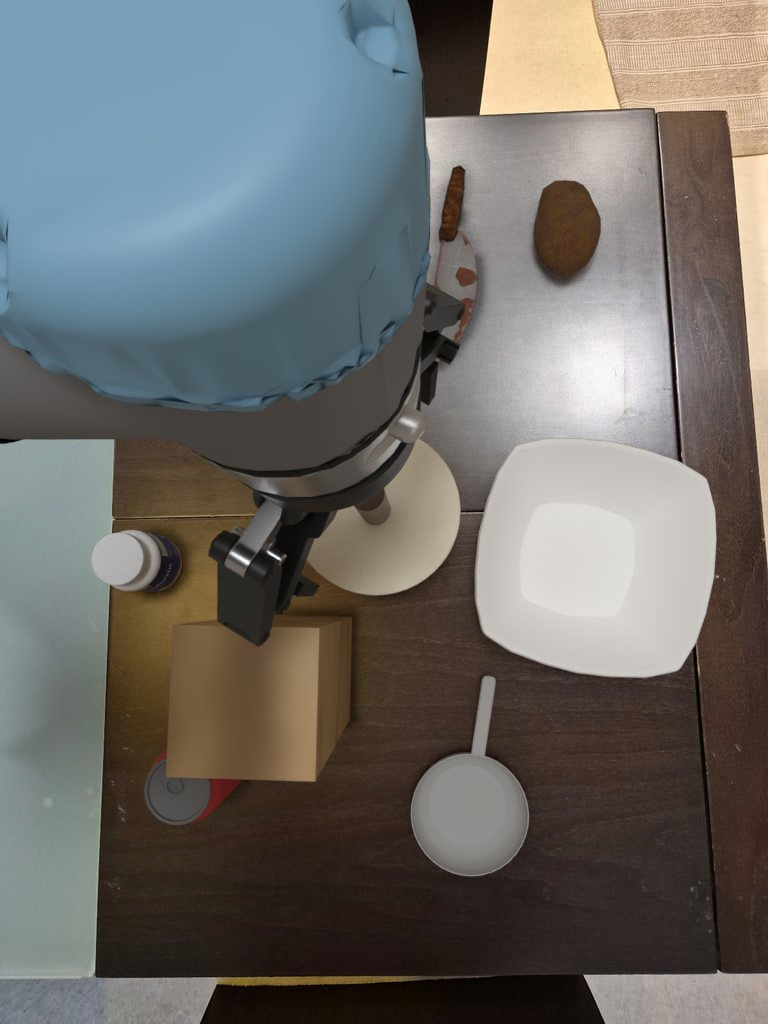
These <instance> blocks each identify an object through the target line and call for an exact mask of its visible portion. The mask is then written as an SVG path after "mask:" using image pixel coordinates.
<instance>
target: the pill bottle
mask: <svg viewBox="0 0 768 1024" xmlns="http://www.w3.org/2000/svg"><path fill="white" fill-rule="evenodd" d="M90 560H91V563H90V564H91V567H92V570H93V572H94V574H95V576H96V577H97V578H98V579H99V580H100V581H101V582H103V583H105V584H107V585H110V587H112V588H114V589H116V590H119V591H123V592H138V593H139V592H141V593H143V592H144V593H146V592H147V593H153V592H155V593H156V592H160V591H164V590H167V589H168V588H170V587H171V586H172V585H173V584H175V582H176V581H177V580H178V578H179V576H180V574H181V571H182V568H183V558H182V554H181V551H180V548H178V546H177V545H176V544H175V542H173V541H172V540H171V539H170V538H168V537H165V536H164V535H159V534H156V533H152V532H147V531H142V530H138V529H126V530H121V531H119V532H112V533H110V534H108V535H105V536H104V537H102V538H101V539H99V541H98V542H97V543H96V544H95V546H94V548H93V550H92V553H91V559H90Z"/></svg>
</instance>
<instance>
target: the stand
mask: <svg viewBox="0 0 768 1024" xmlns="http://www.w3.org/2000/svg"><path fill="white" fill-rule="evenodd" d="M352 638H353V616H339V615H338V616H337V615H336V616H335V615H334V616H333V615H284V614H283V615H282V614H281V615H279V614H274V618H273V624H272V628H271V631H270V637H269V638H268V640H267V641H266V642H264V644H263V645H261V646H260V647H257V646H256V645H254V644H253V643H251V642H249V641H248V640H246V639H244V638H243V637H241V636H240V635H238V634H236V633H235V632H233V631H232V630H230V629H228V628H227V627H225V626H224V625H222V624H221V623H219V622H218V621H217V618H216V619H208V620H200V621H193V622H184V623H177V624H173V625H172V638H171V639H172V640H171V657H170V658H171V659H170V660H171V661H170V679H169V681H170V682H169V684H170V685H169V701H168V718H167V719H168V720H167V721H168V722H167V741H166V750H167V760H166V777H176V778H208V779H241V781H242V780H243V781H245V780H246V781H272V782H273V781H276V782H278V781H279V782H305V783H306V782H311V783H315V782H316V781H317V779H318V778H319V776H320V774H321V772H322V770H323V769H324V767H325V765H326V763H327V762H328V760H329V758H330V756H331V755H332V752H333V751H334V749H335V747H336V745H337V743H338V742H339V740H340V738H341V737H342V734H343V732H344V731H345V730H346V727H347V725H348V724H349V722H350V720H351V687H352V686H351V685H352V682H351V681H352V644H353V643H352V641H353V639H352Z"/></svg>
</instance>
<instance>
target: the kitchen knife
mask: <svg viewBox="0 0 768 1024" xmlns="http://www.w3.org/2000/svg"><path fill="white" fill-rule="evenodd" d="M465 179H466V169H465V168H464V167H463V165H457V166H453V167H452V170H451V174H450V178H449V181H448V184H447V187H446V192H445V197H444V201H443V206H442V211H441V216H440V217H441V222H440V226H439V229H438V238H439V239H438V240H439V241H440V247H439V253H438V259H437V260H438V261H437V266H436V271H435V272H436V273H435V278H434V285H433V286H434V287H436V288H438V289H440V290H442V291H443V292H445V293H447V294H449V295H451V296H452V297H454V298H456V299H458V300H460V301H461V302H463V303H465V304H466V306H465V308H466V309H465V314H464V316H463V317H462V319H461V320H459V321H458V322H457V323H456V324H455V325H454V326H450V327H446V328H444V329H443V330H442V333H441V334H442V335H444V336H445V337H447V338H449V339H451V340H453V341H454V342H456V343H458V342H459V341H460V340H461V339H462V338H463V336H464V334H465V332H466V329H467V328H468V325H469V324H470V322H471V319H472V316H473V312H474V308H475V304H476V300H477V290H478V279H479V278H478V277H479V276H478V270H477V269H478V268H477V260H476V259H477V258H476V256H475V253H474V250H473V247H472V244H471V242H470V240H469V239H468V238H467V236H466V235H465V234H464V233H463V231H462V230H460V229H458V224H459V221H460V218H461V214H462V206H463V200H464V194H465V193H464V192H465ZM435 361H437V362H438V363H439V364H440V362H441V361H442V360H440V359H438V358H437V359H436V360H435Z"/></svg>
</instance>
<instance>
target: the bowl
mask: <svg viewBox="0 0 768 1024" xmlns="http://www.w3.org/2000/svg"><path fill="white" fill-rule="evenodd" d="M491 485H492V486H491V488H490V491H489V493H488V496H487V499H486V503H485V506H484V510H483V514H482V518H481V522H480V524H479V525H480V526H479V530H478V533H477V541H476V542H477V543H476V551H475V552H476V553H475V562H474V603H475V607H476V612H477V616H478V617H477V618H478V621H479V626H480V630H481V632H482V634H483V635H485V637H487V638H488V639H490V640H491V641H493V642H494V643H496V644H497V645H498V646H500V647H502V648H503V649H505V650H507V651H508V652H510V653H512V654H515V655H518V656H520V657H523V658H526V659H528V660H531V661H533V662H537V663H539V664H542V665H545V666H549V667H551V668H556V669H559V670H563V671H566V672H570V673H574V674H579V675H588V676H597V677H605V678H625V679H626V678H628V679H631V678H632V679H635V678H636V679H648V678H653V677H658V676H663V675H667V674H672V673H676V672H678V671H680V669H682V667H683V666H684V664H685V662H686V660H687V659H688V658H689V655H690V654H691V652H692V650H693V649H694V648H695V646H696V644H697V642H698V639H699V636H700V633H701V630H702V627H703V624H704V622H705V618H706V615H707V612H708V607H709V604H710V603H709V602H710V598H711V594H712V589H713V584H714V580H715V572H716V557H717V556H716V555H717V539H718V538H717V537H718V536H717V519H716V518H717V517H716V508H715V505H714V499H713V496H712V492H711V489H710V488H711V487H710V485H709V482H708V480H707V477H705V476H704V475H703V474H701V473H699V472H697V471H696V470H695V469H693V468H692V467H689V466H688V465H686V464H684V463H683V462H681V461H679V460H677V459H674V458H672V457H668V456H665V455H663V454H660V453H656V452H654V451H651V450H648V449H645V448H640V447H637V446H633V445H629V444H624V443H621V442H617V441H611V440H601V439H591V438H581V437H580V438H579V437H577V438H576V437H574V438H573V437H567V438H566V437H545V438H540V439H536V440H531V441H526V442H522V443H518V444H516V445H514V446H513V447H512V448H511V450H510V451H509V453H508V454H507V457H506V458H505V459H504V461H503V462H502V464H501V466H500V467H499V469H498V470H497V472H496V475H495V477H494V480H493V483H492V484H491Z"/></svg>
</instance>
